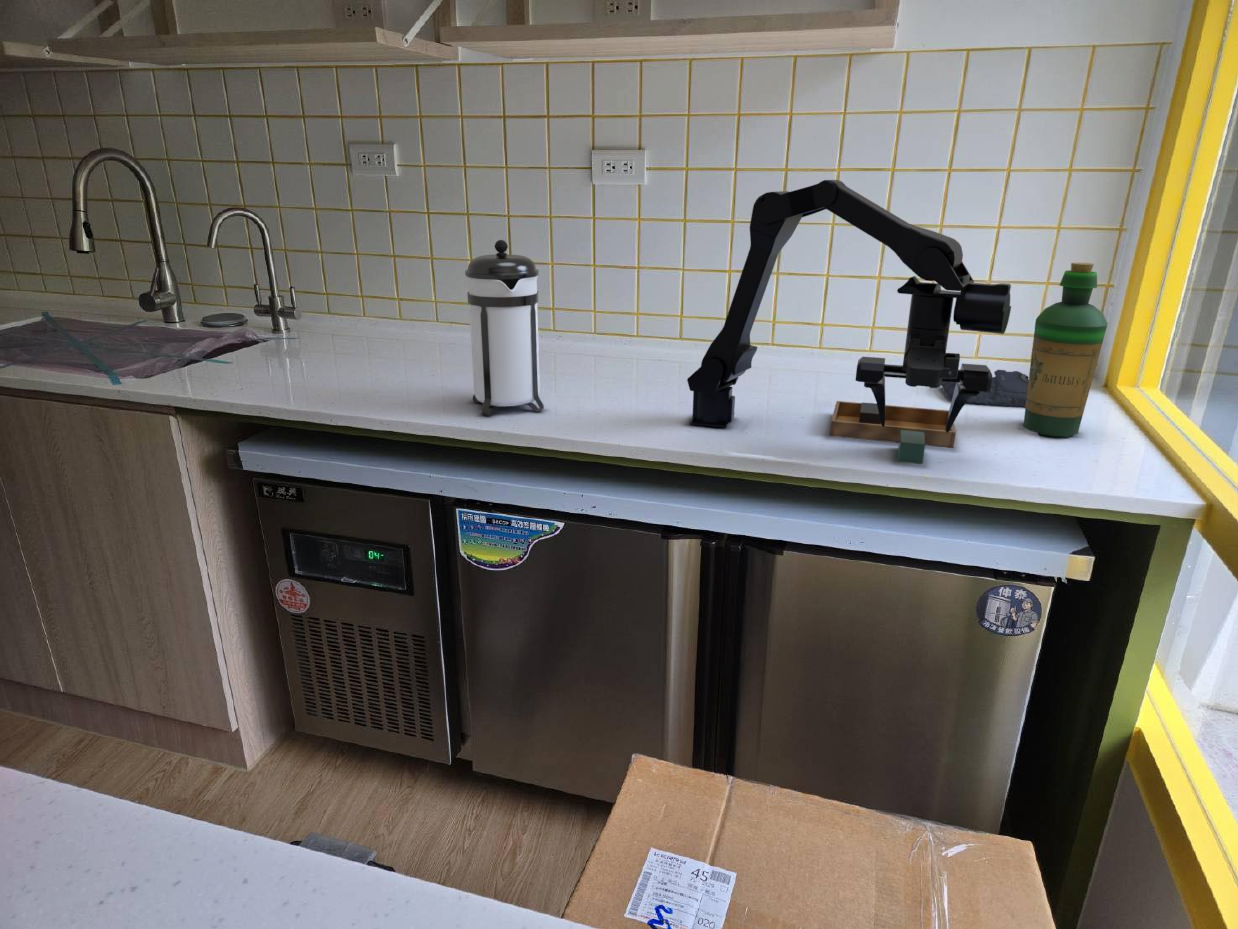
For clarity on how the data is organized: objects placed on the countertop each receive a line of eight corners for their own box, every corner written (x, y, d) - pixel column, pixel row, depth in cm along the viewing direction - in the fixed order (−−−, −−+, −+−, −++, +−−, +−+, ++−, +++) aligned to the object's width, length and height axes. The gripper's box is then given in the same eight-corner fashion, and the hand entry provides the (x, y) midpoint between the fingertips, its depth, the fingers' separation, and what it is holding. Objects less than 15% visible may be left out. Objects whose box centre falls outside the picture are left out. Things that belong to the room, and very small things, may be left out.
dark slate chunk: (933, 384, 170) (936, 361, 169) (1045, 389, 167) (1050, 366, 165) (947, 403, 156) (951, 379, 155) (1071, 410, 153) (1076, 385, 151)
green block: (897, 464, 124) (900, 442, 123) (897, 450, 130) (900, 429, 128) (922, 466, 123) (925, 444, 122) (921, 453, 129) (924, 432, 127)
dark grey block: (857, 432, 137) (859, 412, 136) (859, 421, 143) (861, 402, 142) (879, 434, 136) (882, 414, 135) (880, 423, 142) (882, 404, 141)
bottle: (1005, 430, 140) (1035, 263, 131) (1029, 418, 147) (1059, 258, 138) (1072, 444, 133) (1108, 268, 124) (1094, 431, 140) (1129, 263, 131)
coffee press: (566, 401, 156) (564, 238, 145) (515, 422, 143) (508, 244, 132) (494, 389, 164) (487, 234, 154) (440, 408, 151) (428, 240, 141)
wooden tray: (829, 438, 136) (831, 420, 135) (835, 416, 147) (836, 400, 146) (953, 450, 130) (955, 432, 129) (948, 427, 142) (951, 410, 141)
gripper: (859, 332, 115) (848, 438, 120) (1004, 341, 109) (985, 451, 115) (862, 319, 125) (852, 417, 130) (995, 326, 119) (979, 429, 125)
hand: (914, 428), depth 124 cm, fingers open, 9 cm apart
